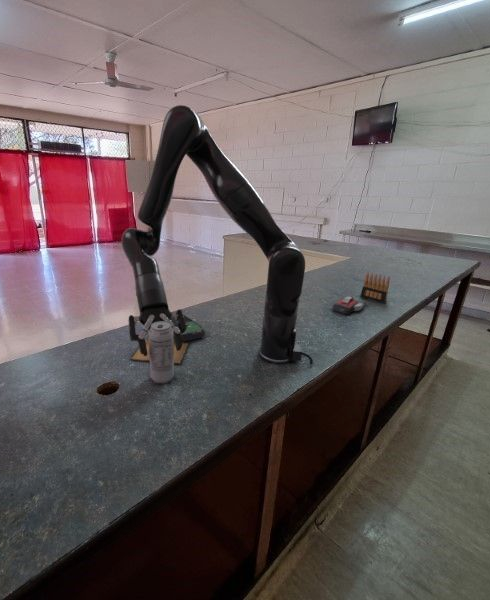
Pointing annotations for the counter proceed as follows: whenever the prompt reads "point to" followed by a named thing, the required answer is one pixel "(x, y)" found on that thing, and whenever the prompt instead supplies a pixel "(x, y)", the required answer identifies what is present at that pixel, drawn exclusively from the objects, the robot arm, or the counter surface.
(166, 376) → the energy drink can
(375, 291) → the ammunition clip
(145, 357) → the cork pad
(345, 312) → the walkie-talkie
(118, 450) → the counter surface
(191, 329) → the disk drive
